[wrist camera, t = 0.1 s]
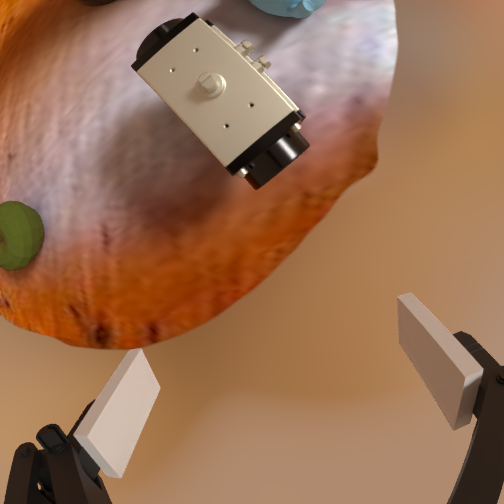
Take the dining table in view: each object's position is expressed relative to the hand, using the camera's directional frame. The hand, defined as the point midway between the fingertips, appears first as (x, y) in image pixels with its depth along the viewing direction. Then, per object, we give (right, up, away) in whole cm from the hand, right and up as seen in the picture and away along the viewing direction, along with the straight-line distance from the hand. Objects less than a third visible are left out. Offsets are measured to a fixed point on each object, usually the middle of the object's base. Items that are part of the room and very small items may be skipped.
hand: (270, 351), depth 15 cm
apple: (-37, +9, +29) cm, 48 cm away
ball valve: (-3, +23, +23) cm, 33 cm away
